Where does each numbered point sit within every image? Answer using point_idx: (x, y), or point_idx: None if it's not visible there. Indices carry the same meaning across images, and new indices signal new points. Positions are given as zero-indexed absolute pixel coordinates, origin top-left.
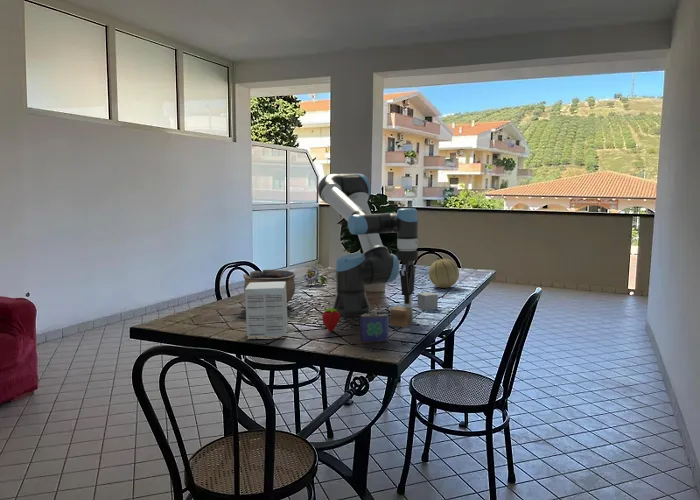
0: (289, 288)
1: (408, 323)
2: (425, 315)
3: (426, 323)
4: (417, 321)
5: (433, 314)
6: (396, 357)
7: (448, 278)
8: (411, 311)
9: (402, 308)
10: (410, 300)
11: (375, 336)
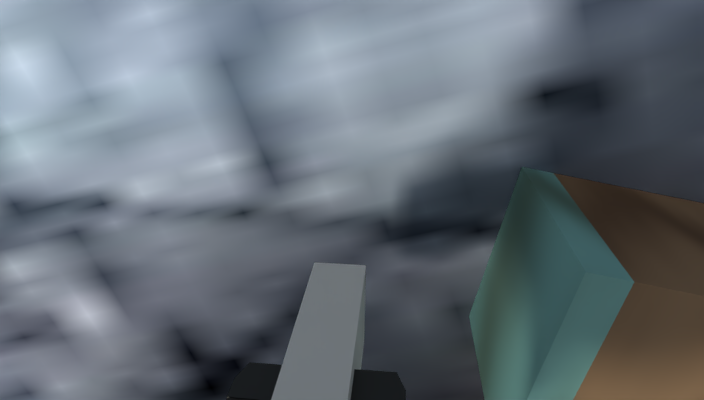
0: None
1: (638, 198)
2: (108, 119)
3: (480, 4)
4: (410, 138)
5: (12, 38)
6: None
7: None
8: (605, 248)
9: (675, 392)
10: (351, 393)
11: None
